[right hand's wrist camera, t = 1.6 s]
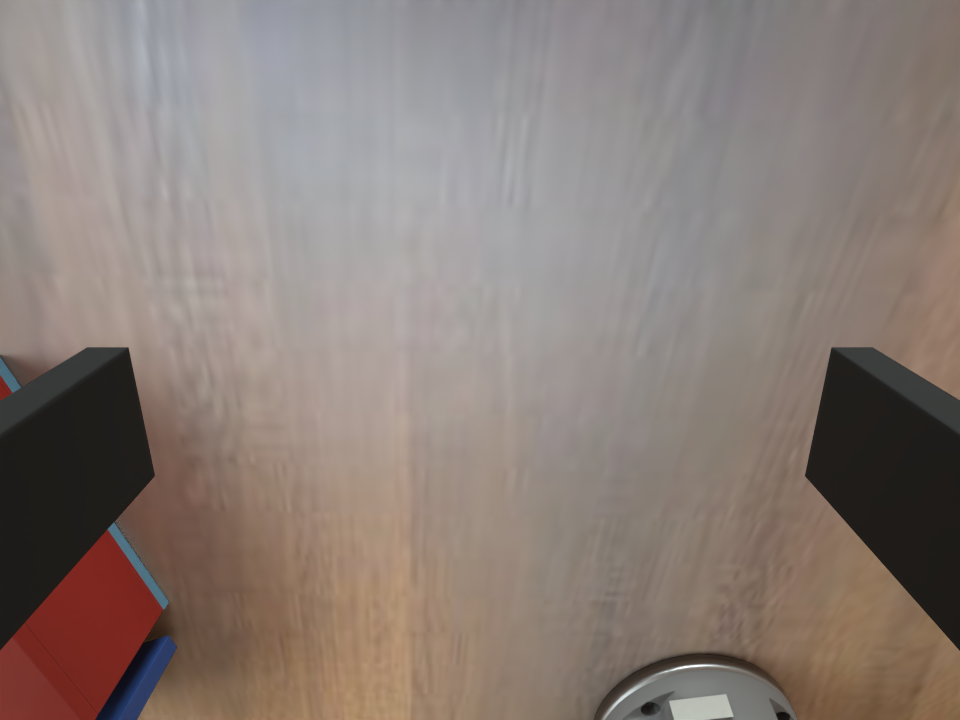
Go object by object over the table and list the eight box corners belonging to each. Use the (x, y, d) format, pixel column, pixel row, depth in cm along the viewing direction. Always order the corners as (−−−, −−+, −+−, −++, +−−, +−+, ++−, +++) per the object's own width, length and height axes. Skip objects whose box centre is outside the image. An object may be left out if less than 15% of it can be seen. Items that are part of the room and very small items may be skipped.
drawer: (213, 698, 48) (164, 809, 40) (100, 732, 49) (32, 845, 42) (22, 427, 40) (-84, 503, 32) (-109, 475, 41) (-240, 559, 33)
